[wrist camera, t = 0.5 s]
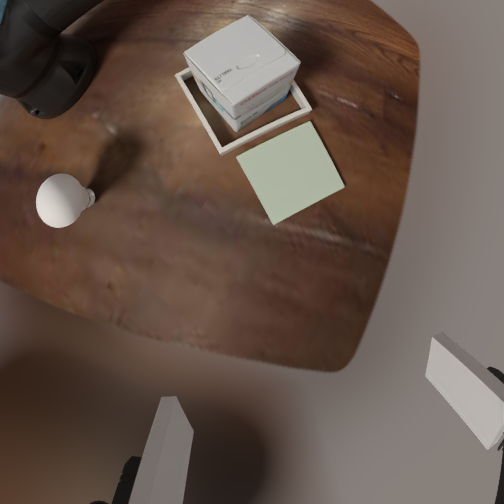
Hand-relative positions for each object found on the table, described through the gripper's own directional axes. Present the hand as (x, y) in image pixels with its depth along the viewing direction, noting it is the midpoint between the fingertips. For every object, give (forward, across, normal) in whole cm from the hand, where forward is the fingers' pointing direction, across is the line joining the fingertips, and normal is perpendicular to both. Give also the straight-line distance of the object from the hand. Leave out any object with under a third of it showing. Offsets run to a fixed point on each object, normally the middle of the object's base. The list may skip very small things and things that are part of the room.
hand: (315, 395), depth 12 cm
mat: (+26, +5, +11) cm, 29 cm away
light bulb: (+27, -23, +14) cm, 38 cm away
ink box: (+27, +1, +23) cm, 35 cm away
